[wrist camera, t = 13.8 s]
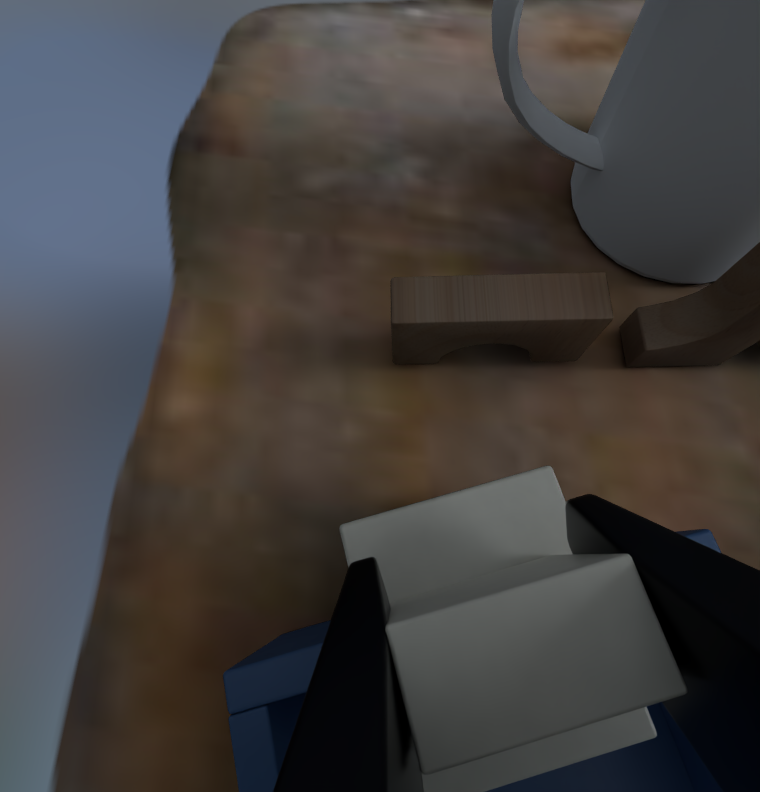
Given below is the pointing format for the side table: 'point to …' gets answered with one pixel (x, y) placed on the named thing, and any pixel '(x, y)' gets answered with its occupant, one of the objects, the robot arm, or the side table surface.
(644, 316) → the wooden blocks
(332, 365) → the side table surface
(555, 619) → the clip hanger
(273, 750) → the blue box
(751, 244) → the mug
